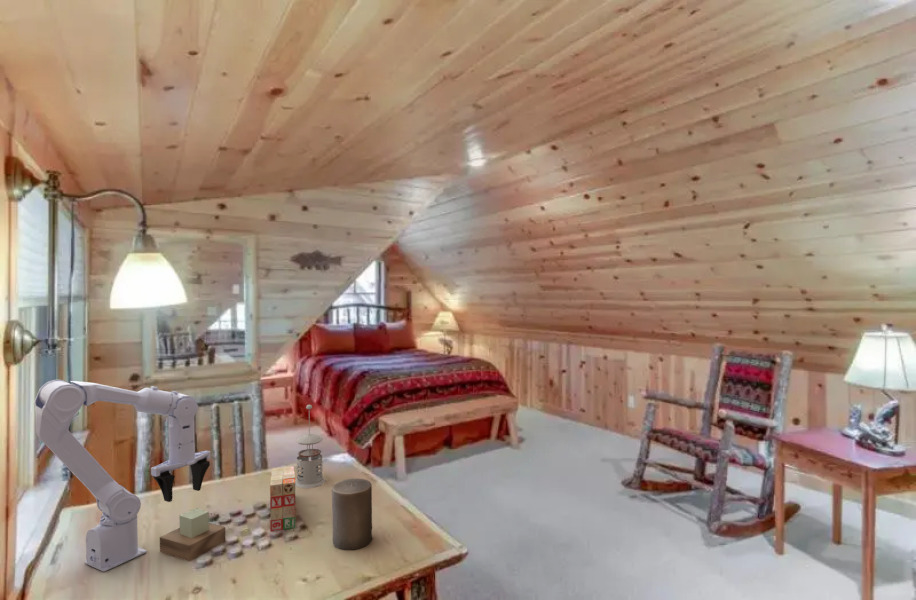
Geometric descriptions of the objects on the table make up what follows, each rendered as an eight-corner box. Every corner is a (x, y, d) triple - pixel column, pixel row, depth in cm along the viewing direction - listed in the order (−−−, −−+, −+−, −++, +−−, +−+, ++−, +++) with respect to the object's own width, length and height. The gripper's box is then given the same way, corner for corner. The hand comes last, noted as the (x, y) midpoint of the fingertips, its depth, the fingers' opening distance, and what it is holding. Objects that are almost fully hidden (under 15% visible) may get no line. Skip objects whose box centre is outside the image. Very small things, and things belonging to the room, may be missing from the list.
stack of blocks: (271, 499, 151) (271, 458, 150) (294, 496, 153) (293, 455, 152) (270, 532, 130) (269, 484, 130) (295, 528, 132) (295, 481, 132)
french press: (293, 489, 157) (292, 409, 157) (294, 476, 169) (294, 401, 168) (325, 486, 160) (325, 407, 159) (325, 473, 171) (324, 399, 170)
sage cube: (191, 538, 120) (191, 519, 120) (179, 533, 122) (179, 515, 122) (208, 530, 124) (208, 511, 124) (197, 526, 126) (196, 508, 126)
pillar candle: (380, 537, 127) (380, 478, 127) (351, 554, 119) (351, 491, 119) (352, 527, 133) (352, 470, 132) (323, 543, 125) (323, 482, 124)
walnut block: (189, 563, 116) (189, 545, 116) (159, 553, 120) (159, 537, 120) (225, 542, 125) (225, 526, 125) (196, 535, 130) (196, 519, 129)
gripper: (163, 452, 120) (164, 509, 121) (217, 436, 133) (218, 488, 133) (145, 448, 124) (146, 503, 124) (200, 432, 136) (201, 483, 137)
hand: (182, 495), depth 129 cm, fingers open, 7 cm apart
